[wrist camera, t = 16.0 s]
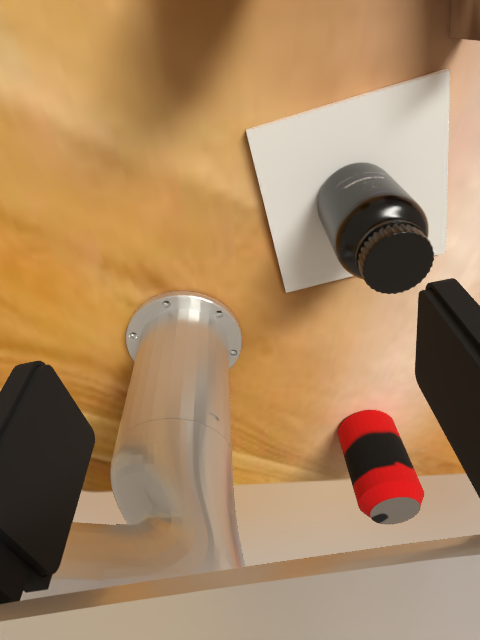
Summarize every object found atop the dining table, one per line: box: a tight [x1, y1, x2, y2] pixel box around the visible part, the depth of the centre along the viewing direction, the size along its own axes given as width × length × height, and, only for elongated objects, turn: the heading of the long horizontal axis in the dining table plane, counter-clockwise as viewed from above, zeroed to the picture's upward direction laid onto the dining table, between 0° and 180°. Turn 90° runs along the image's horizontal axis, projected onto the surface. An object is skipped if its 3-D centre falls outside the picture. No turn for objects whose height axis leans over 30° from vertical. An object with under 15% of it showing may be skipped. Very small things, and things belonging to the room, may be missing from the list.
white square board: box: [246, 69, 450, 293], centre depth 38 cm, size 16×16×1 cm
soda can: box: [338, 410, 424, 524], centre depth 53 cm, size 8×8×12 cm
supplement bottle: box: [317, 162, 434, 294], centre depth 33 cm, size 7×7×12 cm
